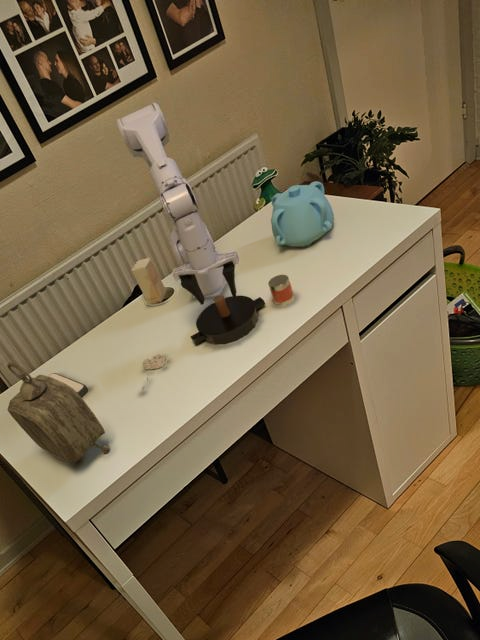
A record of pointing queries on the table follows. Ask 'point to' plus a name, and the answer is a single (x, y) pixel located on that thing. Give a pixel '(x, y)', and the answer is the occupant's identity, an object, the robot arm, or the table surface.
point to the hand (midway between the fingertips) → (218, 297)
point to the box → (149, 280)
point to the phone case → (70, 383)
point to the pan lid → (225, 315)
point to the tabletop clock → (55, 416)
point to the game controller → (154, 363)
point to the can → (281, 290)
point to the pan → (234, 335)
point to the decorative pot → (301, 215)
